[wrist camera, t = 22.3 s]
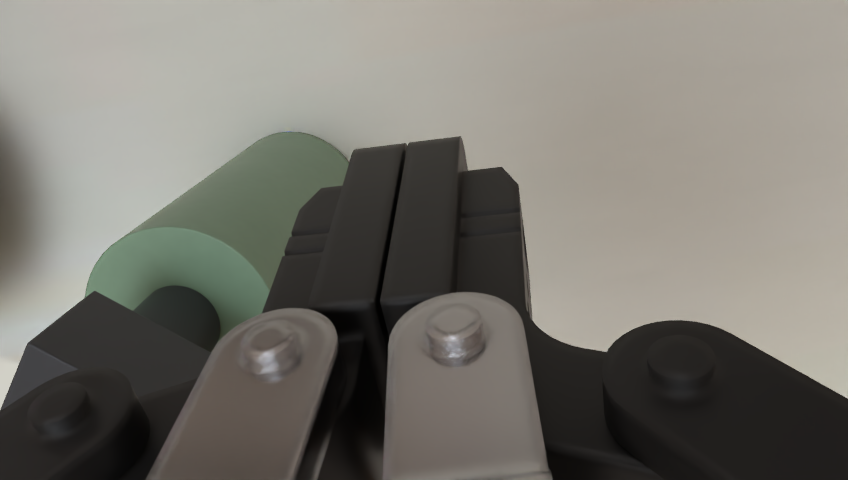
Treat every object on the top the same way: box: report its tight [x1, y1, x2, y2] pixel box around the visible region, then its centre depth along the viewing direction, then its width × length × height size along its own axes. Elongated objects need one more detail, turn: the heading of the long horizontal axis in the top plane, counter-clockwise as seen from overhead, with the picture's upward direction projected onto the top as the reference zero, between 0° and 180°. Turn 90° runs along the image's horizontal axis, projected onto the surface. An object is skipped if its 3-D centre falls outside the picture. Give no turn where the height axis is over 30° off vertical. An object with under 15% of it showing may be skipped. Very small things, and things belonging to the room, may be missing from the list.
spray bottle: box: [0, 132, 349, 411], centre depth 29 cm, size 8×6×20 cm
